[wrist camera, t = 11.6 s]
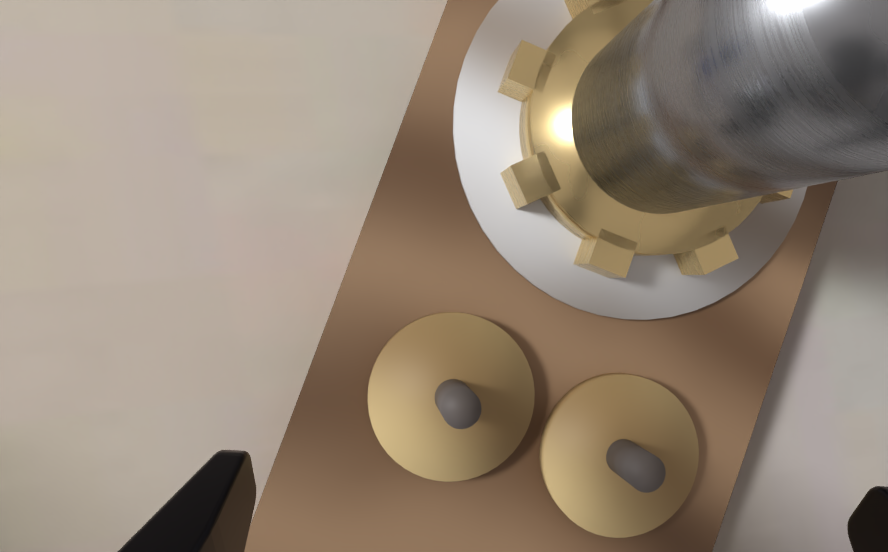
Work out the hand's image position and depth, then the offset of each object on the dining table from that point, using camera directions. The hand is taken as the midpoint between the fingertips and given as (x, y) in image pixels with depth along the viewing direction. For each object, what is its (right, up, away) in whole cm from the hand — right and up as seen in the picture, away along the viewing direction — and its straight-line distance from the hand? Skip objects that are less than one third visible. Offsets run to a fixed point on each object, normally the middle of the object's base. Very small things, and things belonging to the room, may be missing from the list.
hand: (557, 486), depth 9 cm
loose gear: (+4, +7, +9) cm, 12 cm away
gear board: (+2, +4, +10) cm, 11 cm away
